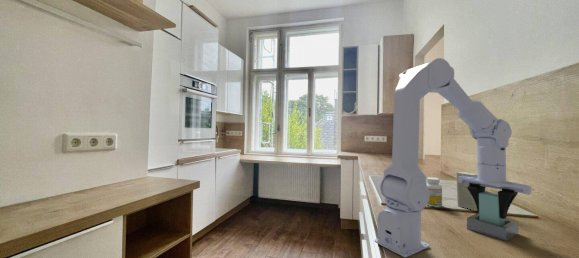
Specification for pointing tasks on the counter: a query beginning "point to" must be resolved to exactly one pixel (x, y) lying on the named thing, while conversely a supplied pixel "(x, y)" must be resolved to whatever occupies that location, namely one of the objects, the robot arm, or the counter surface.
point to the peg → (490, 208)
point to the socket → (493, 228)
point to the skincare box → (465, 192)
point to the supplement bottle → (434, 192)
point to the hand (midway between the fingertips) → (491, 214)
